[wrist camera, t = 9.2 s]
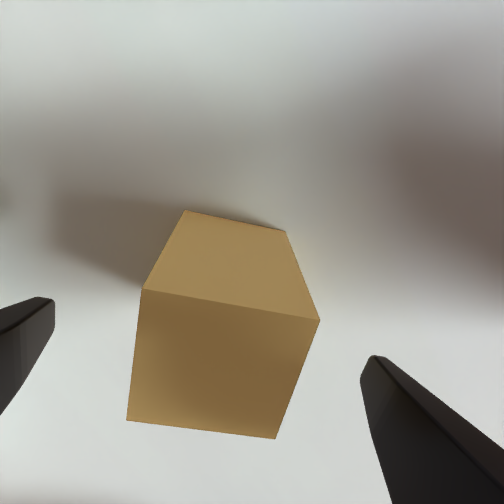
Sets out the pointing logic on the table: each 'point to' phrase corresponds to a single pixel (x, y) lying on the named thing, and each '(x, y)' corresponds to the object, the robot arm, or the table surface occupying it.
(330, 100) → the table surface
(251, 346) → the ochre block
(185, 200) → the table surface
